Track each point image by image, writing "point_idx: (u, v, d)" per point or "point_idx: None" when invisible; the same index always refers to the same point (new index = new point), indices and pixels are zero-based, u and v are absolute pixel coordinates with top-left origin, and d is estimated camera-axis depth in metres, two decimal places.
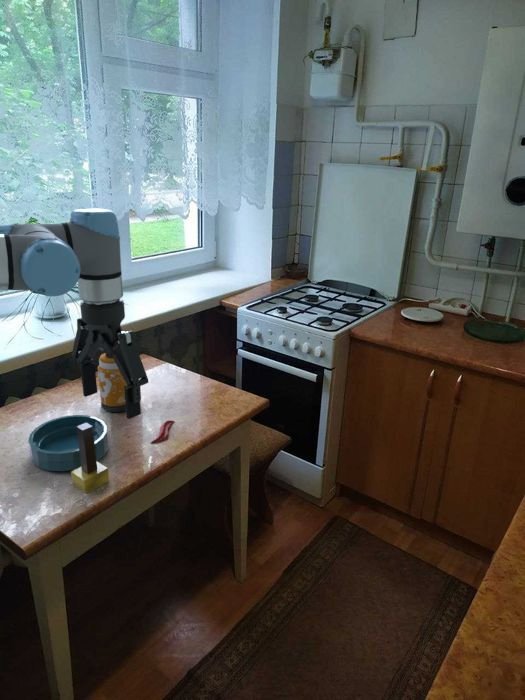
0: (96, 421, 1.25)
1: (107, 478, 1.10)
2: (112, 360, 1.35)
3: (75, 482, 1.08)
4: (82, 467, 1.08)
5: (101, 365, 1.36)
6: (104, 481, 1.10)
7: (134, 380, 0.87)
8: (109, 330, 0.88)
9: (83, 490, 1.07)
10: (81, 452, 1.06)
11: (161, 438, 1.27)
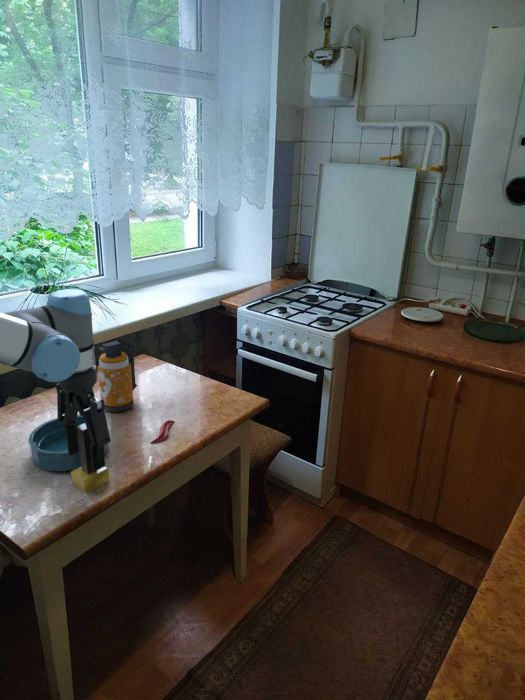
0: None
1: (107, 478, 1.10)
2: (112, 360, 1.35)
3: (75, 482, 1.08)
4: (82, 467, 1.08)
5: (101, 365, 1.36)
6: (104, 481, 1.10)
7: (98, 441, 1.01)
8: (82, 394, 0.99)
9: (83, 490, 1.07)
10: (81, 452, 1.06)
11: (161, 438, 1.27)
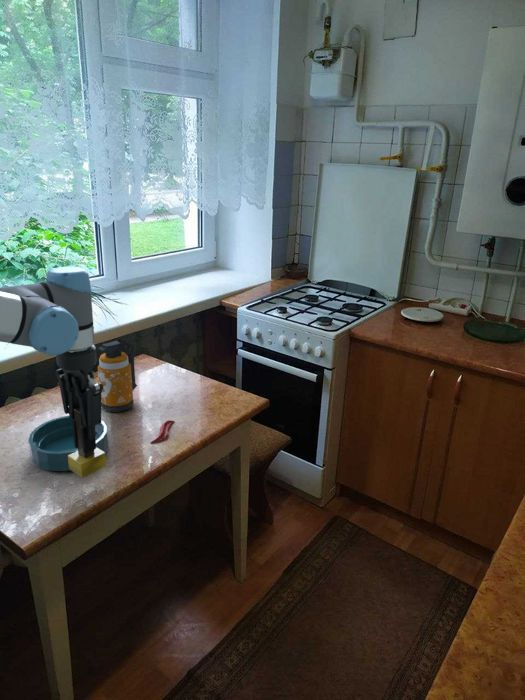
0: None
1: (104, 462, 1.09)
2: (112, 360, 1.35)
3: (72, 466, 1.06)
4: (79, 451, 1.06)
5: (101, 365, 1.36)
6: (101, 466, 1.08)
7: (89, 422, 1.00)
8: (81, 374, 0.97)
9: (80, 474, 1.05)
10: (78, 436, 1.05)
11: (161, 438, 1.27)
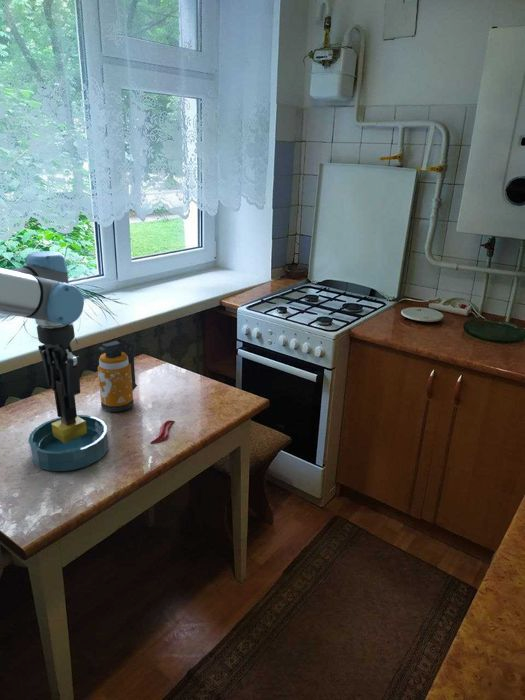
0: (96, 421, 1.25)
1: (85, 430, 1.20)
2: (112, 360, 1.35)
3: (55, 433, 1.17)
4: (61, 419, 1.17)
5: (101, 365, 1.36)
6: (82, 433, 1.19)
7: (69, 392, 1.11)
8: (60, 348, 1.08)
9: (62, 440, 1.16)
10: (60, 405, 1.16)
11: (161, 438, 1.27)
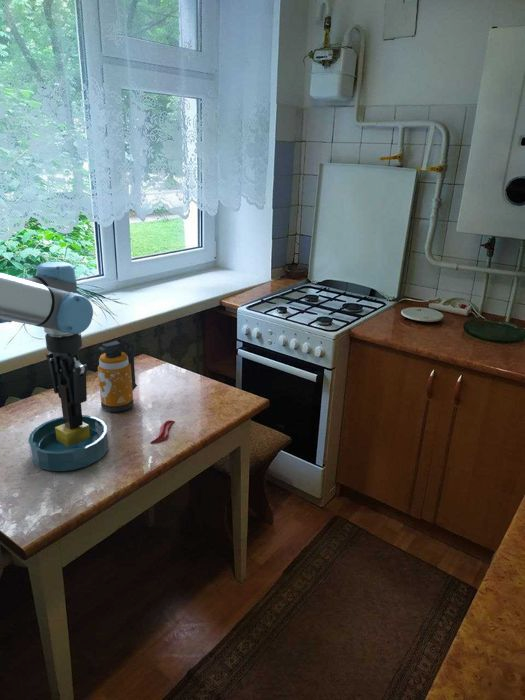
0: (96, 421, 1.25)
1: (88, 434, 1.21)
2: (112, 360, 1.35)
3: (59, 436, 1.18)
4: (65, 423, 1.18)
5: (101, 365, 1.36)
6: (85, 437, 1.20)
7: (76, 399, 1.13)
8: (68, 357, 1.10)
9: (66, 443, 1.17)
10: (64, 409, 1.17)
11: (161, 438, 1.27)
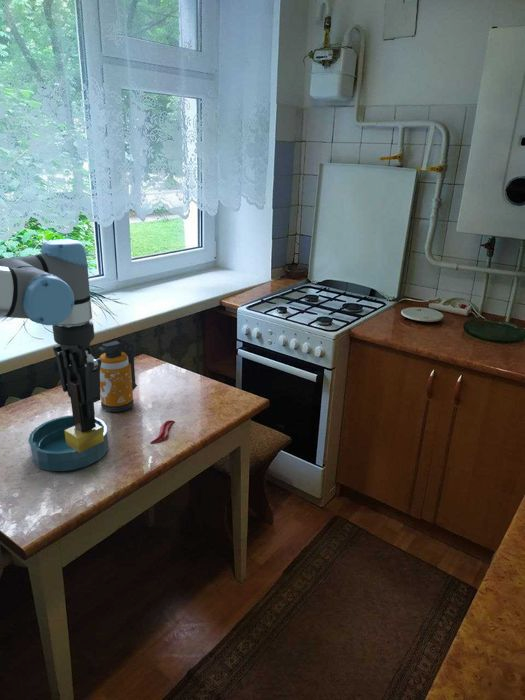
0: (96, 421, 1.25)
1: (102, 437, 1.06)
2: (112, 360, 1.35)
3: (69, 440, 1.04)
4: (76, 425, 1.04)
5: (101, 365, 1.36)
6: (98, 441, 1.06)
7: (88, 398, 0.98)
8: (79, 350, 0.96)
9: (77, 449, 1.03)
10: (75, 409, 1.02)
11: (161, 438, 1.27)
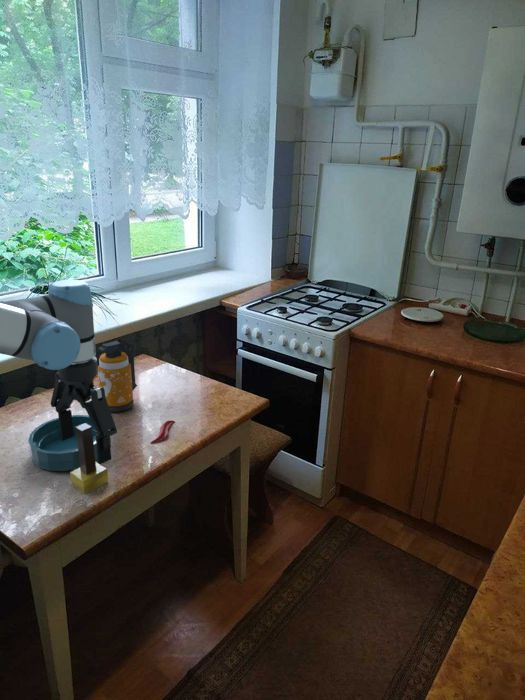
0: None
1: (106, 478, 1.10)
2: (112, 360, 1.35)
3: (74, 482, 1.08)
4: (81, 468, 1.08)
5: (101, 365, 1.36)
6: (103, 482, 1.10)
7: (104, 431, 0.98)
8: (82, 386, 0.98)
9: (82, 491, 1.07)
10: (80, 453, 1.06)
11: (161, 438, 1.27)
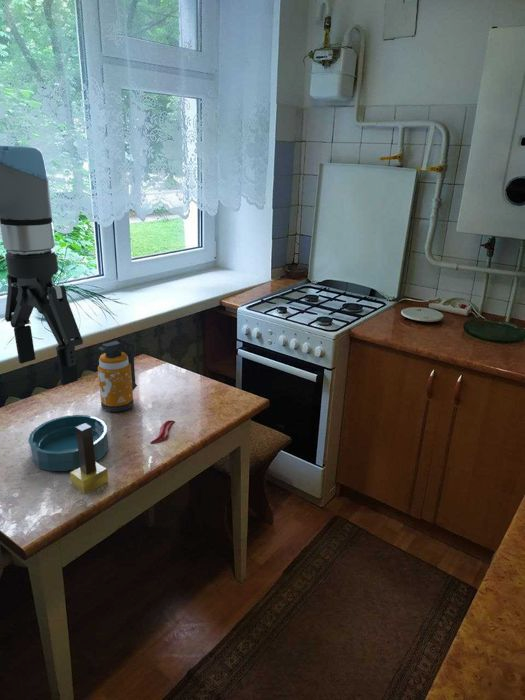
0: (96, 421, 1.25)
1: (106, 478, 1.10)
2: (112, 360, 1.35)
3: (74, 482, 1.08)
4: (81, 468, 1.08)
5: (101, 365, 1.36)
6: (103, 482, 1.10)
7: (65, 340, 0.78)
8: (38, 284, 0.78)
9: (82, 491, 1.07)
10: (80, 453, 1.06)
11: (161, 438, 1.27)
